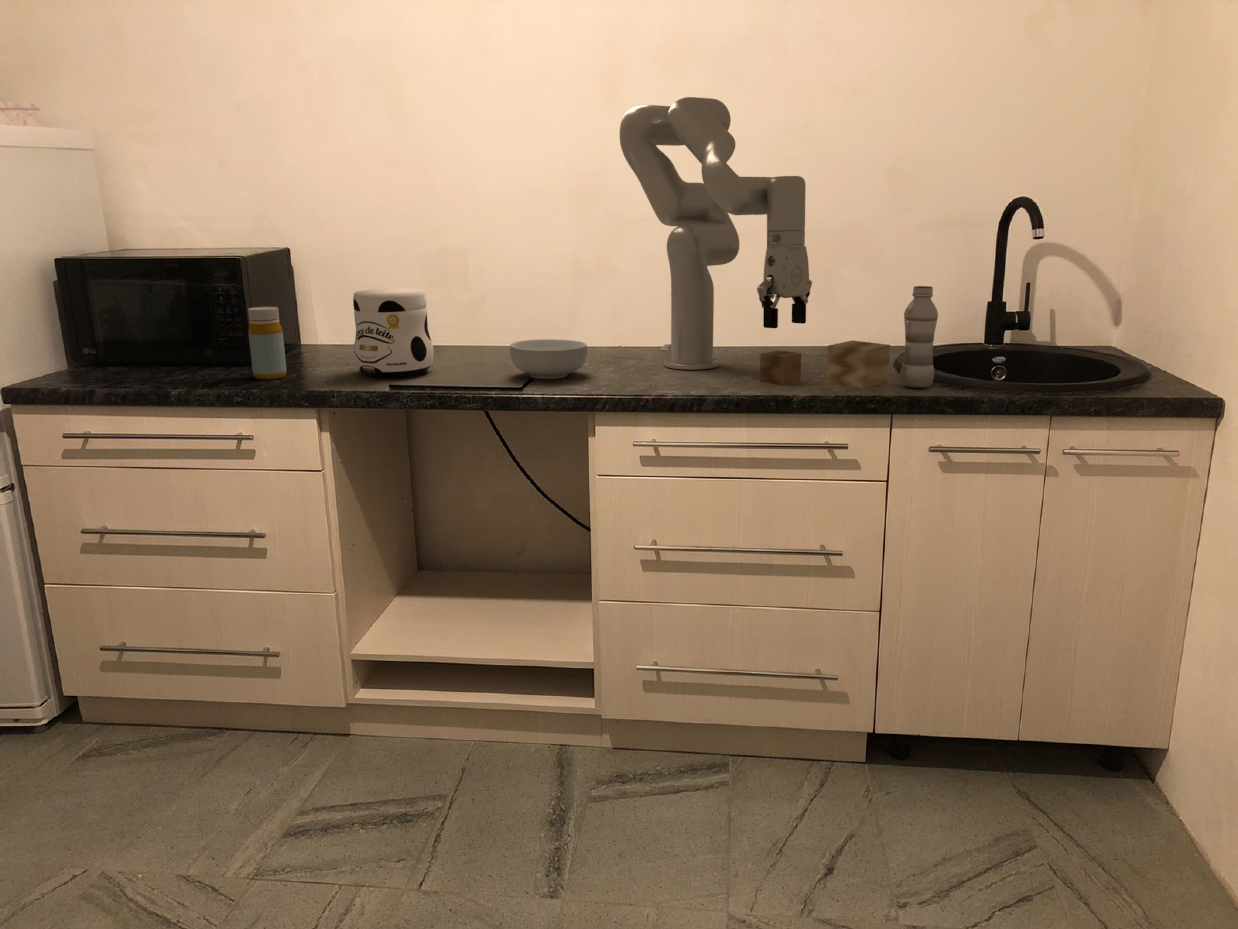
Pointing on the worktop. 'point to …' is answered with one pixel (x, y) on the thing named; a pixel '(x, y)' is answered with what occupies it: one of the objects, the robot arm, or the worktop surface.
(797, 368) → the walnut cube
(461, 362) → the worktop surface
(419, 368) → the doce de leite jar
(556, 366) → the cereal bowl
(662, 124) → the robot arm
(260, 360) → the bottle
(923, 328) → the plastic bottle
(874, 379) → the tower base
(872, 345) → the tower top
